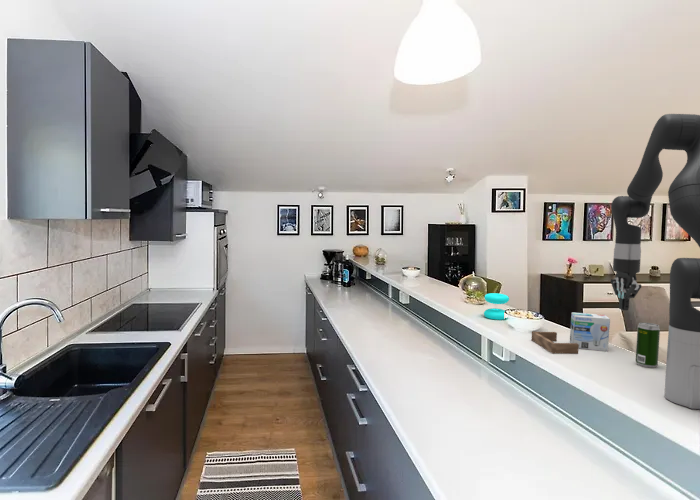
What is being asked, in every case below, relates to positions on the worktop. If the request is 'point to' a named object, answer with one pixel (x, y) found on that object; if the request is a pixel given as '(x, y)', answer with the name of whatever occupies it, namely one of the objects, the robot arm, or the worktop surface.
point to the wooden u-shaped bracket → (546, 342)
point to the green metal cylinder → (647, 345)
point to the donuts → (495, 299)
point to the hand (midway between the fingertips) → (623, 309)
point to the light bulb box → (590, 331)
